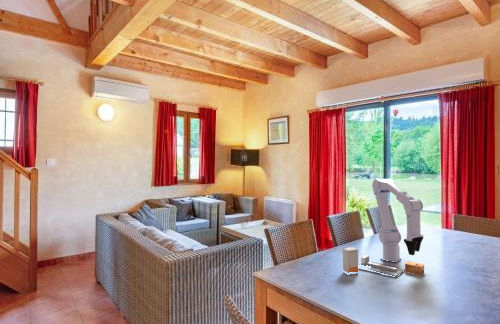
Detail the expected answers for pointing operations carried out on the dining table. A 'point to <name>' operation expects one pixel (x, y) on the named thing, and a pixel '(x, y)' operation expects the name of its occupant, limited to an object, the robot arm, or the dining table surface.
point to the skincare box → (350, 259)
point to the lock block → (414, 267)
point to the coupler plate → (381, 267)
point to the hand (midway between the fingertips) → (414, 252)
